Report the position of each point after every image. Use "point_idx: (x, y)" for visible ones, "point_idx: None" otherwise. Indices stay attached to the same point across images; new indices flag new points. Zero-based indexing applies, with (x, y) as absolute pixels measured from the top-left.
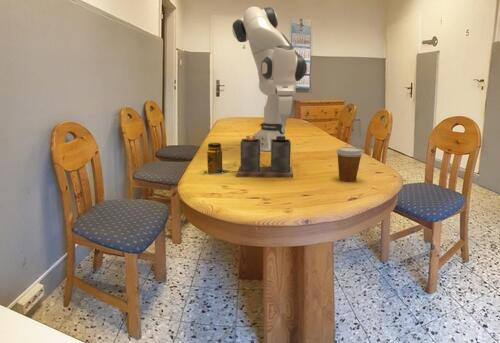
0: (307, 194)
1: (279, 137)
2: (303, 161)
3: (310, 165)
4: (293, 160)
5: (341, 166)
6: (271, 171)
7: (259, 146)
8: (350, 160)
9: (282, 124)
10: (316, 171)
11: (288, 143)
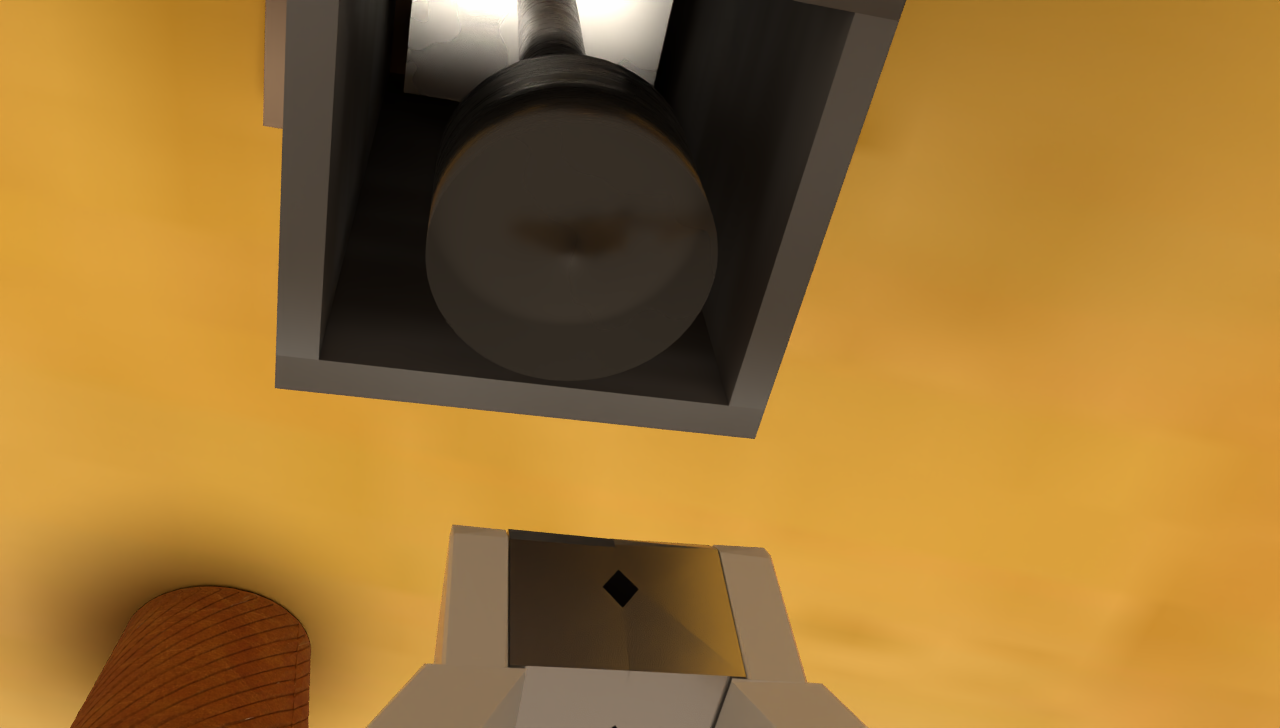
0: None
1: (439, 194)
2: (1159, 426)
3: (923, 457)
4: (1274, 322)
5: (97, 725)
6: None
7: None
8: None
9: (446, 575)
10: (608, 456)
11: (282, 327)
